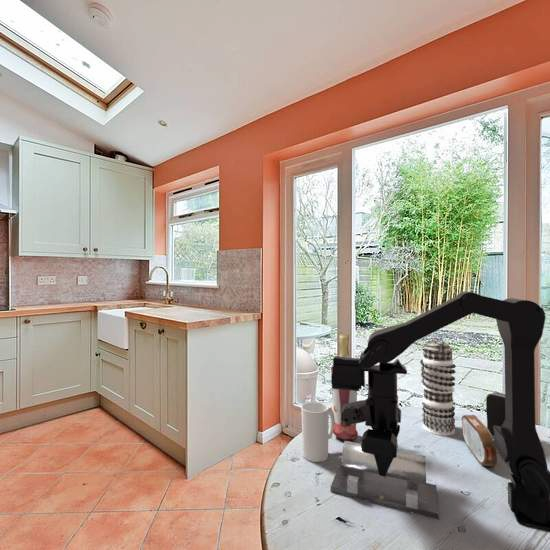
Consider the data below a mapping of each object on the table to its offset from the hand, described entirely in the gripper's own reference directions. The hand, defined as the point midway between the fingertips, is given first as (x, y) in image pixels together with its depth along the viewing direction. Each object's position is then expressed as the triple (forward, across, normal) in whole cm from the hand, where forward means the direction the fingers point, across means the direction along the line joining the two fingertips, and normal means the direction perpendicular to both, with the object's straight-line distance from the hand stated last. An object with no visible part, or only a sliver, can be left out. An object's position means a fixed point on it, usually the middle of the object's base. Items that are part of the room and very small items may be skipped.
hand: (383, 468), depth 67 cm
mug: (+5, -9, -16) cm, 19 cm away
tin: (+5, -23, +20) cm, 31 cm away
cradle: (+5, 0, 0) cm, 5 cm away
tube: (+1, 0, 0) cm, 1 cm away
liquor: (+5, -20, -12) cm, 24 cm away
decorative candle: (+5, -35, +12) cm, 37 cm away
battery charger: (+5, -37, +28) cm, 47 cm away
